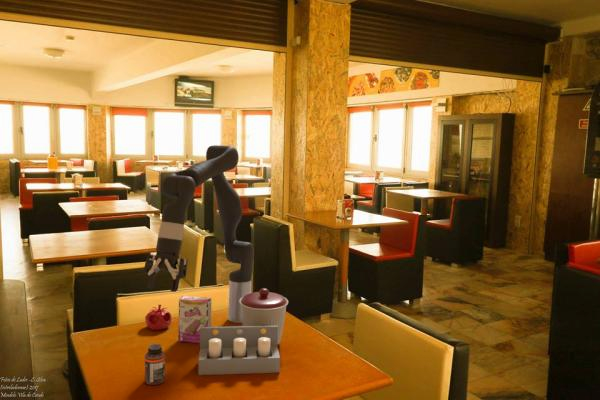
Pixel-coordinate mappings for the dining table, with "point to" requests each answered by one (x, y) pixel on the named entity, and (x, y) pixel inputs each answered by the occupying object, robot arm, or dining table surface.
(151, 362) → the supplement bottle
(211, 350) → the button
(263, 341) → the button
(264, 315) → the canister
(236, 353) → the middle button
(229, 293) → the robot arm
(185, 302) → the candy bar box
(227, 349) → the console
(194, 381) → the dining table surface
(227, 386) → the dining table surface
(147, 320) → the pomegranate
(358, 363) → the dining table surface
